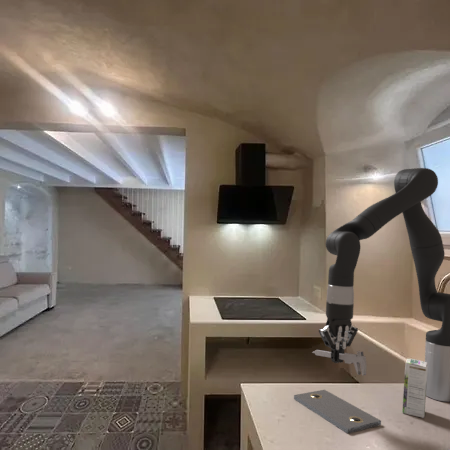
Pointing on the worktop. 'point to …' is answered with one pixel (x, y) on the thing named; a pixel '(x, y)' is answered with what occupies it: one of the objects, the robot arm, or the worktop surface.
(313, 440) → the worktop surface
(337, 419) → the hole plate
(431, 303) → the robot arm
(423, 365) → the syrup box
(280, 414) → the worktop surface
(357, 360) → the caliper
